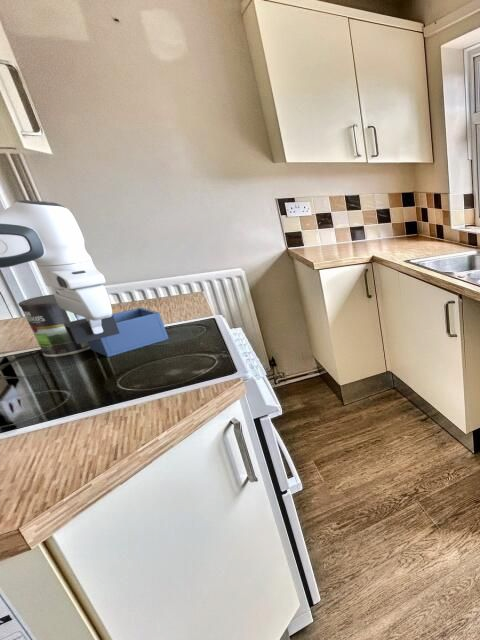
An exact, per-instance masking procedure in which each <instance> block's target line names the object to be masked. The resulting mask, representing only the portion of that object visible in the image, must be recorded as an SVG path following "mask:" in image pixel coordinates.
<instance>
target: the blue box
mask: <svg viewBox="0 0 480 640" xmlns="http://www.w3.org/2000/svg"><path fill="white" fill-rule="evenodd" d="M112 316H113V317H114V319H115V322H116V325H117V327H118V330H119V332H120V333H119V334H116V335H112V336H108V337H104V338H100V339H96V340H92V341H88V344H89V346H90V349H89V350H91V351H93V352H96V353H98V354H101V355H103V356H105V357H107V358H110V357H113V356H117V355H120V354H123V353H127V352H130V351H133V350H137V349H140V348H143V347H147V346H149V345H154V344H156V343H160V342H164V341H167V340H169V336H168V333H167V330H166V327H165V325H164V322H163V319H162V317H161V313H160V312H158V311H155V310H151V309H148V308H144V307H137V308H132V309H129V310H124V311H119V312H116V313H112Z"/></svg>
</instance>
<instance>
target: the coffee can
mask: <svg viewBox="0 0 480 640" xmlns="http://www.w3.org/2000/svg"><path fill="white" fill-rule="evenodd" d="M18 306H19V307H20V308H21V311H22V312H23V314H24V317H25V318H26V320H27V321H26V322H27V323H28V324H29V327H30V329H31V331H32V333H33V335H34V336H35V339H36V341H37V343H38V345H39V347H40V349H41V352H42V354H43V357H46V358H58V357H66V356H72V355H76V354H79V353H83V352H86V351H89V350H91V349H90V346H89V344H88V342H85V343H81V344H76V341H74V342H71V340H70V338H69V335H68V333H67V331H66V328H65V326H64V324H63V323H67V322H71V321H76V320H77V319H76V317H75V316H74V313H72V312H69V311H66V310H64V309H61V308H60V307H59V305H58V303H57V301H56V299H55V296H54V293H53V294H46V295H39V296H35V297H30V298H28V299H24V300H22V301H20V302H19V303H18Z"/></svg>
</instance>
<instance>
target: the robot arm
mask: <svg viewBox="0 0 480 640" xmlns="http://www.w3.org/2000/svg"><path fill="white" fill-rule="evenodd" d="M30 262H35V263H36V266H37V268H38V271H39V273H40V276H41V278H42V280H43V283H44V284H45V286H47V287H50V288H51V290H52V293H53V294H54V296H55V299H56V301H57V303H58V305H59V307H60V308H61V309H64V310H66V311H69V312H72V313H74V316H75V317H76V319H77V320H80V319H85V318H86V319H87V321H89V325H90V327H89V328H90V330H91V332H92V333H94V334H99V333H102V332H103V329H102V326H101V319H105V318H109V317H111V316H112V314H113V308H112V304H111V301H110V298H109V295H108V292H107V289H106V287H105V284H106V283H107V281H106V279H105V276H104V274H103V273H101V272H100V271H99V270H98V269H97V267H96V265H95V264H94V262H93V259H92V257H91V255H90V254H89V252H88V251H87V249H86V246H85V238H84V235H83V233H82V231H81V228H80V226H79V224H78V222H77V220H76V218H75V216H74V215H73V213H72V212H71V210H70V209H68V208H67V207H65V206H64V205H62V204H59V203H57V202H51V201H44V200H30V199H29V200H28V199H21V200H17V201H15V202H14V203H13V204H12V205H10V206H8V207H7V208H5V209H3V210H1V211H0V269H4V268H5V269H6V268H11V267H15V266H18V265H21V264H25V263H30Z"/></svg>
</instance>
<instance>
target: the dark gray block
mask: <svg viewBox="0 0 480 640" xmlns="http://www.w3.org/2000/svg"><path fill="white" fill-rule="evenodd" d="M63 324H64V326H65V328H66V331H67V333H68V335H69V338H70V340H71V342H74V341H76V344H81V343H85V342H88V341H92V340H96V339H100V338H104V337H108V336H112V335H116V334H119V333H120V332H119V330H118V327H117V325H116V322H115V319H114V317H113V316H111V317H109V318H105V319H101V326H102V329H103V332H102V333H99V334H94V333H92V332H91V330H90V328H89V327H90V325H89V321H87V319H86V318H85V319H80V320H76V321H71V322H67V323H63Z"/></svg>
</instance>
